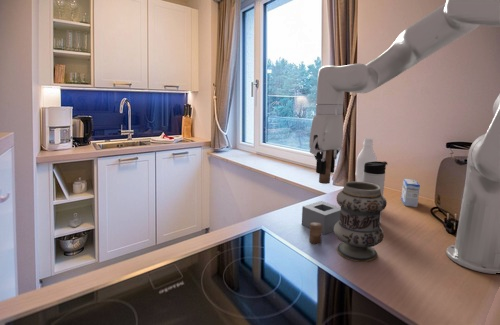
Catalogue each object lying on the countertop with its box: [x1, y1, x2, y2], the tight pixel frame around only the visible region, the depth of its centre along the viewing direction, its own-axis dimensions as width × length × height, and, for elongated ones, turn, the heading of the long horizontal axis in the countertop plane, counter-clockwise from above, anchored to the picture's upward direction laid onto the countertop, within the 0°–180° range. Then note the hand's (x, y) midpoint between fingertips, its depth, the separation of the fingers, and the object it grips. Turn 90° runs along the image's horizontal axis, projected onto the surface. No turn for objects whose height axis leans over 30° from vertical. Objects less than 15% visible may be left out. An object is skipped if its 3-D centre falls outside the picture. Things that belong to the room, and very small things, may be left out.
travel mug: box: [363, 160, 388, 221], centre depth 95 cm, size 6×7×20 cm
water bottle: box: [354, 137, 378, 182], centre depth 112 cm, size 7×7×25 cm
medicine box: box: [400, 178, 421, 208], centre depth 114 cm, size 8×4×9 cm, turn 162°
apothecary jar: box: [333, 181, 387, 263], centre depth 76 cm, size 12×12×18 cm
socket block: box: [301, 200, 341, 235], centre depth 93 cm, size 9×9×6 cm
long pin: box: [318, 150, 332, 185], centre depth 90 cm, size 3×3×10 cm
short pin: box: [308, 223, 322, 245], centre depth 83 cm, size 3×3×5 cm
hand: (325, 172), depth 90 cm, fingers closed on long pin, 3 cm apart
